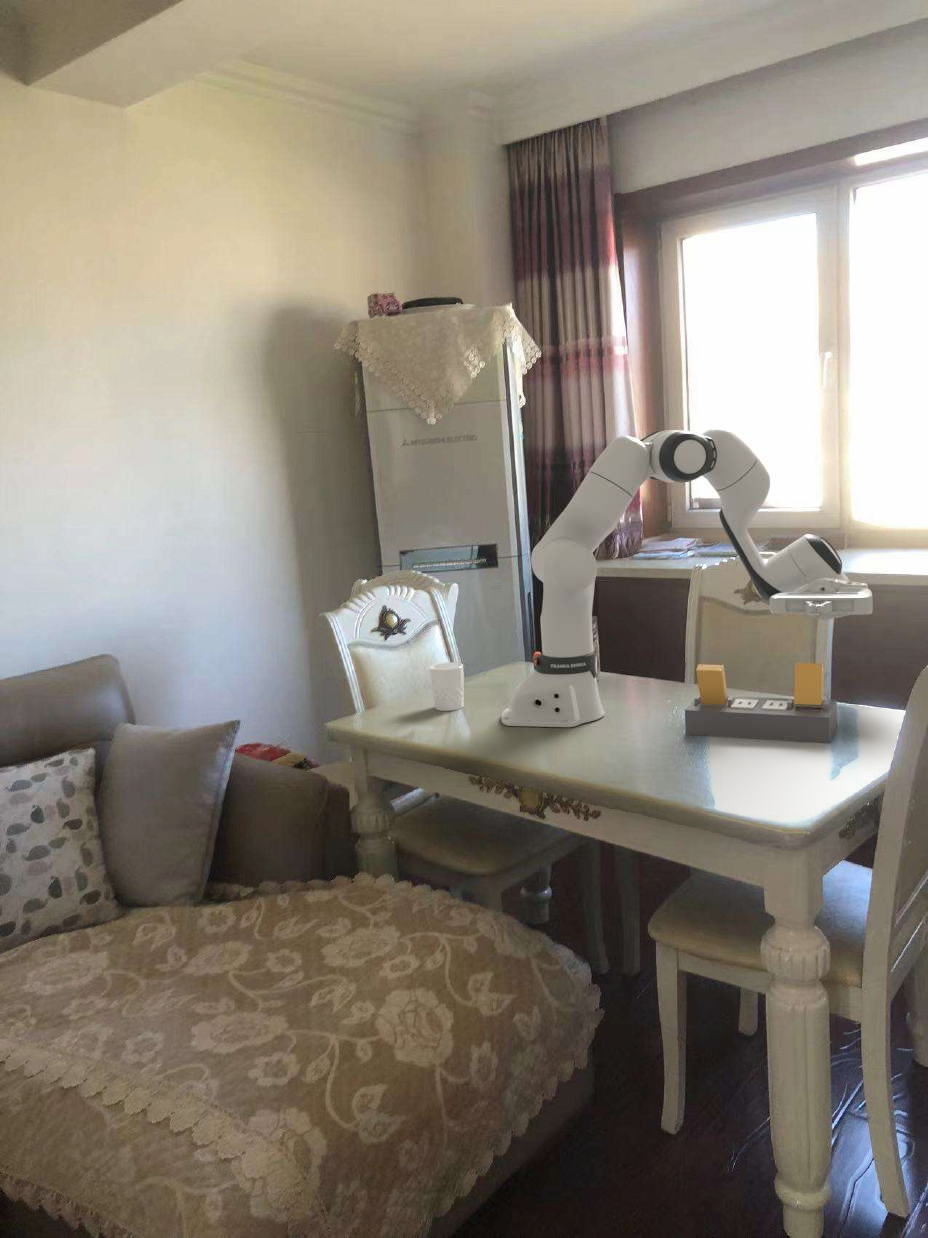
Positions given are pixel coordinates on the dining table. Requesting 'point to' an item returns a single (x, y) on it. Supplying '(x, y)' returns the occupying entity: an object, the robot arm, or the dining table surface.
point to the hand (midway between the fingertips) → (816, 609)
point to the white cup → (447, 685)
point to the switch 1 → (712, 684)
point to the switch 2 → (808, 684)
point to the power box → (762, 719)
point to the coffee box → (596, 644)
